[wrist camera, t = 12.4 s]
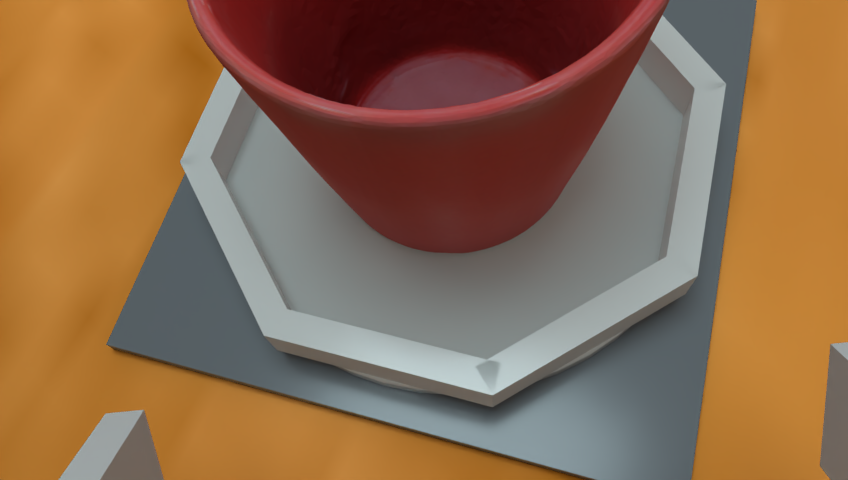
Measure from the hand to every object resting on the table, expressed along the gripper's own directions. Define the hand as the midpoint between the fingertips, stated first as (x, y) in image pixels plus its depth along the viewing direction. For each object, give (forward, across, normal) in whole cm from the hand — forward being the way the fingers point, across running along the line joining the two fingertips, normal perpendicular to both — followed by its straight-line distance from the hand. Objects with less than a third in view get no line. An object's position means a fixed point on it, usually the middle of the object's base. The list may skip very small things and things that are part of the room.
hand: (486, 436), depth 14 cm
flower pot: (+12, 0, +3) cm, 12 cm away
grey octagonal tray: (+13, 0, +2) cm, 13 cm away
